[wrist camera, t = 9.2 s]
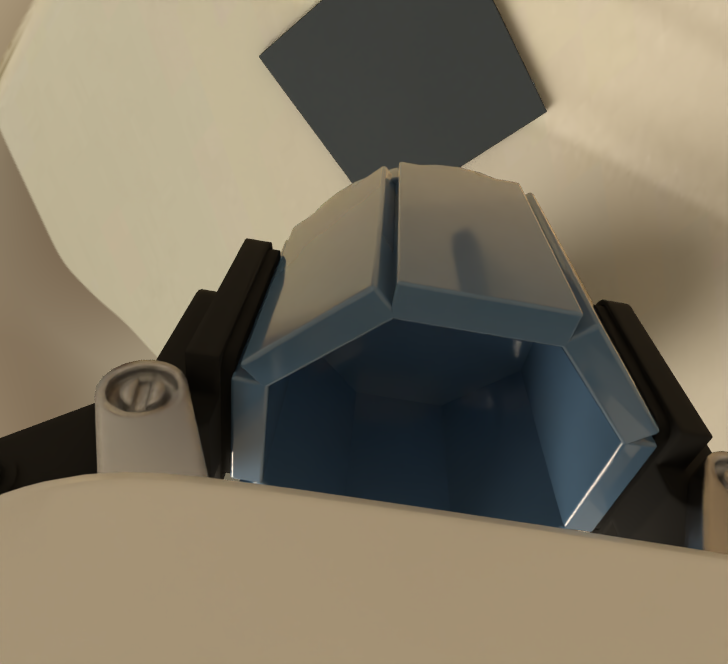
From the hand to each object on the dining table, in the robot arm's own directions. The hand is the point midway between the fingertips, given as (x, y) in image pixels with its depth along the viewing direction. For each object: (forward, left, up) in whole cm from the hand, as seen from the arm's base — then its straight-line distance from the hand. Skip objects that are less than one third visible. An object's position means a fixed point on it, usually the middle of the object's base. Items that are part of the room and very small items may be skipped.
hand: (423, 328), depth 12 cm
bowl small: (0, 0, -1) cm, 1 cm away
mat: (0, 0, -29) cm, 29 cm away
